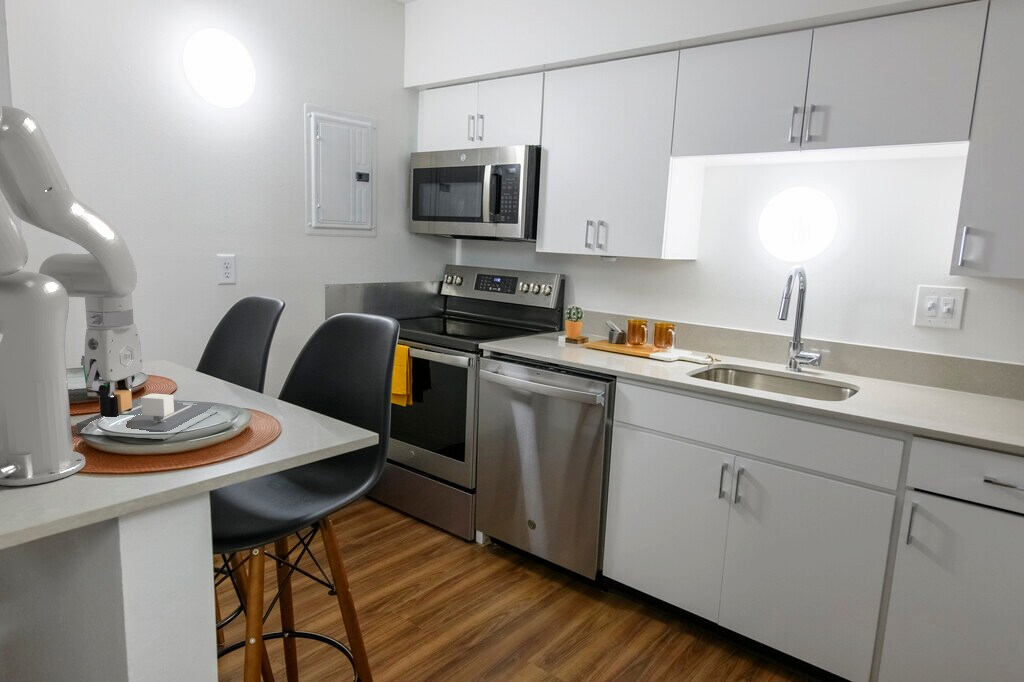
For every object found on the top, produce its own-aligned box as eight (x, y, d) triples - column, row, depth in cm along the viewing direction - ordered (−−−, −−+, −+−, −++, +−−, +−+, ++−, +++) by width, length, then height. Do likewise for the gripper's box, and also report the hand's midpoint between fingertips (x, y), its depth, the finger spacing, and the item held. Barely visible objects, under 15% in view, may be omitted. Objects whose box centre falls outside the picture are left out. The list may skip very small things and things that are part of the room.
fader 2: (164, 422, 121) (163, 399, 120) (142, 420, 121) (141, 397, 120) (174, 418, 124) (173, 394, 123) (152, 416, 124) (151, 393, 123)
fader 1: (122, 418, 122) (120, 394, 121) (100, 416, 123) (98, 392, 122) (132, 413, 125) (131, 390, 124) (111, 411, 126) (109, 389, 125)
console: (164, 440, 118) (163, 429, 118) (77, 433, 120) (76, 422, 119) (217, 412, 136) (217, 402, 135) (141, 406, 137) (140, 397, 137)
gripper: (97, 327, 112) (104, 428, 116) (156, 314, 128) (161, 403, 132) (57, 324, 113) (65, 425, 116) (121, 312, 129) (127, 400, 132)
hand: (116, 412), depth 124 cm, fingers closed on fader 1, 3 cm apart
